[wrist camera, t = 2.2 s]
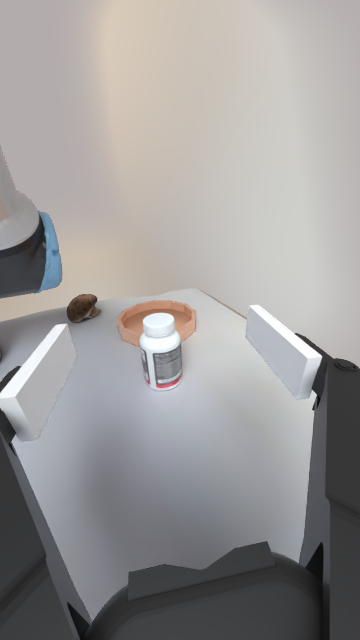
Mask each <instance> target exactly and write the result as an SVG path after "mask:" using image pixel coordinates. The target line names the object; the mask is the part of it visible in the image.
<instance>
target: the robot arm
mask: <svg viewBox="0 0 360 640" xmlns="http://www.w3.org/2000/svg"><path fill="white" fill-rule="evenodd" d="M61 281H62V264H61V258H60V254H59V247H58V241H57V237H56V232H55V229H54V225H53V223H52V220H51V218H50V216H49V215H48V214H47V213H45V212H40V211H37V208H36V207H35V205H34V204H33V202H32V201H31V200H30V199H29V198H28V197H27V196H26V195H24V194H23V193H21V192H19V191H18V190H16V188H15V185H14V183H13V180H12V177H11V174H10V172H9V169H8V166H7V163H6V161H5V158H4V155H3V152H2V150H1V147H0V298H6V297H13V296H18V295H25V294H31V293H39V292H41V291H43V290H47V289H52V288H55V287H57V286H58V285H59V284H60V283H61ZM245 337H246V338H247V340H248V341H249V342H250V343H251V345H252V346H253V347H254V348H255V350H256V351H257V352H258V353H259V355H260V356H261V357H262V358H263V360H264V361H265V362H266V363H267V364H268V366H269V367H270V368H271V369H272V371H273V372H274V373H275V374H276V376H277V377H278V378H279V379H280V381H281V382H282V383H283V384H284V385H285V387H286V388H287V389H288V390H289V392H290V393H291V394H292V395H293V397H294V398H295V399H296V400H299V399H305V398H309V397H310V394H311V391H312V390H313V391H314V392H315V393H316V394H317V397H316V400H315V403H314V405H313V408H312V410H314V423H313V435H312V447H311V459H310V471H309V483H308V495H307V507H306V519H305V531H304V539H303V544H302V549H301V553H300V559H299V564H298V563H297V562H295V561H294V560H292V559H290V558H288V557H286V556H284V555H281V554H278V553H274V552H271V550H270V548H269V545H268V542H267V541H266V542H261V543H257V544H252V545H248V546H243V547H239V548H235V549H233V550H232V551H230V552H229V553H228V554H226V555H225V556H223V557H222V558H220V559H219V560H217V561H216V562H214V563H213V564H212V565H210V566H209V567H207V568H206V569H203V570H196V569H190V568H184V567H178V566H172V565H166V564H164V565H159V566H155V567H150V568H146V569H142V570H137V571H133V572H129V581H128V585H126V586H125V587H123V588H122V589H121V590H119V591H118V592H117V593H116V594H115V595H114V596H113V597H112V598H111V599H110V600H109V601H108V602H107V603H106V604H105V605H104V607H103V608H102V609H101V611H100V612H99V613H98V615H97V616H96V617H95V619H94V620H93V622H92V621H91V618H90V616H89V614H88V612H87V610H86V608H85V606H84V604H83V602H82V600H81V599H80V597H79V595H78V593H77V591H76V589H75V587H74V585H73V582H72V580H71V578H70V575H69V573H68V571H67V568H66V566H65V564H64V562H63V559H62V557H61V555H60V552H59V550H58V548H57V545H56V543H55V541H54V538H53V536H52V534H51V532H50V529H49V527H48V525H47V522H46V520H45V518H44V515H43V513H42V511H41V508H40V506H39V504H38V502H37V499H36V497H35V495H34V492H33V490H32V488H31V485H30V483H29V481H28V479H27V476H26V474H25V472H24V469H23V467H22V465H21V462H20V460H19V458H18V455H17V453H16V451H15V449H14V446H13V445H12V443H11V441H12V439H13V437H14V436H15V434H16V435H17V437H18V439H19V440H20V442H23V441H30V440H37V439H38V438H39V436H40V434H41V432H42V430H43V428H44V425H45V423H46V421H47V419H48V417H49V415H50V413H51V411H52V409H53V407H54V405H55V403H56V400H57V398H58V396H59V394H60V392H61V390H62V388H63V386H64V384H65V382H66V380H67V378H68V375H69V373H70V371H71V369H72V367H73V365H74V363H75V361H76V359H77V357H78V356H77V352H76V349H75V346H74V343H73V340H72V337H71V334H70V330H69V327H68V324H59V325H55V326H54V328H53V329H52V330H51V331H50V332H49V334H48V335H47V336H46V337H45V339H44V340H43V341H42V342H41V344H40V345H39V346H38V347H37V348H36V350H35V351H34V352H33V353H32V355H31V356H30V357H29V358H28V360H27V361H26V362H25V363H24V364H23V366H17V367H16V368H14V369H13V370H12V371H10V372H9V373H8V374H7V375H6V376H5V377H4V378H3V380H2V381H1V382H0V640H360V369H359V367H357V366H356V365H355V364H353V363H351V362H350V361H347V360H344V359H338V358H336V359H333V358H332V357H331V356H329V355H328V354H327V353H325V352H324V351H323V350H322V349H320V348H319V347H317V346H316V345H315V344H314V343H312V342H311V341H310V340H309V339H307V338H306V337H304V336H302V335H300V334H297V333H295V334H294V333H293V332H291V331H290V330H289V329H288V328H286V327H285V326H284V325H283V324H281V323H280V322H279V321H278V320H276V319H275V318H274V317H273V316H272V315H270V314H269V313H268V312H266V311H265V310H264V309H263V308H262V307H260V306H259V305H252V306H249V309H248V317H247V326H246V335H245ZM1 358H2V353H1V351H0V360H1Z"/></svg>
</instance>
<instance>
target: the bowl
mask: <svg viewBox="0 0 360 640" xmlns="http://www.w3.org/2000/svg"><path fill="white" fill-rule="evenodd" d="M154 313H167V314H170V315H172V316H173V317H174V322H175V330H176V331H177V332H178V333H179V335H180V339H181V341H184V340H185V339H186V338H188V337H189V336H190V335H191V334H192V333H193V332H195V329H196V311H195V310H194V309H192V308H191V307H190V306H188V305H187V304H184V303H180V302H175V301H150V302H145V303H140V304H136V305H134V306H132V307H130V308H128V309H126V310H124V311H122V313H121V314H120V315H119V317H118V318H117V320H116V321H117V326H118V331H119V333H120V335H121V337H122V340H124V341H126V342H129V343H131V344H133V345H136V346H138V347H140V337H141V335H142V334H143V333H144V330H143V319H144V318H145V317H146V316H148V315H151V314H154Z"/></svg>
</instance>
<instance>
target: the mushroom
mask: <svg viewBox="0 0 360 640" xmlns="http://www.w3.org/2000/svg"><path fill="white" fill-rule="evenodd" d="M96 302H97V297H96V296H94V295H91V294H82V295H79V296H77V297H75V298H74V299H73V300H72V301H71V302H70V304H69V306H68V308H67V316H68V318H69V320H70V321H72V322H79V321H81V320H82V319H84V318H86V317H88V318H92V317H94V316H95V315H97V314H98V313H99V312H100V311H101V310H99V309H97V308H95V303H96Z"/></svg>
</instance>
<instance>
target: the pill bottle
mask: <svg viewBox="0 0 360 640" xmlns="http://www.w3.org/2000/svg"><path fill="white" fill-rule="evenodd" d="M143 330H144V333H143V334H142V335H141V337H140V349H141V355H142V362H143V368H144V375H145V381H146V383H147V385H148V386H149V387H150V388H152V389H154V390H157V391H166V390H170V389H173V388H175V387H176V386H177V385H178V384H179V383H180V382H181V379H182V362H181V339H180V335H179V333H178V332H177V331H176V330H175V322H174V317H173V316H172V315H170V314H167V313H154V314H151V315H148V316H146V317H145V318H144V319H143Z"/></svg>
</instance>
